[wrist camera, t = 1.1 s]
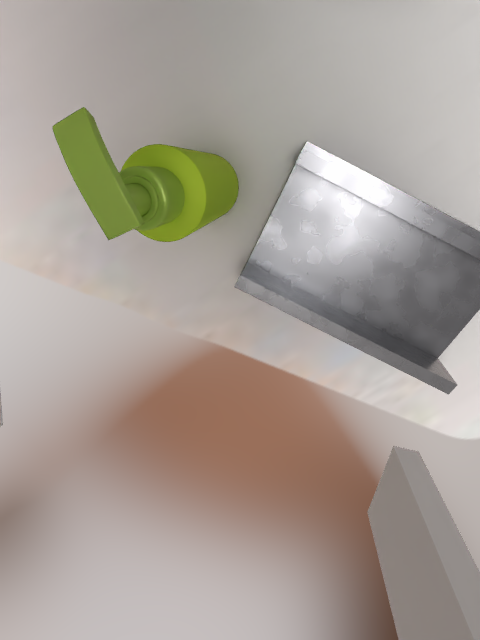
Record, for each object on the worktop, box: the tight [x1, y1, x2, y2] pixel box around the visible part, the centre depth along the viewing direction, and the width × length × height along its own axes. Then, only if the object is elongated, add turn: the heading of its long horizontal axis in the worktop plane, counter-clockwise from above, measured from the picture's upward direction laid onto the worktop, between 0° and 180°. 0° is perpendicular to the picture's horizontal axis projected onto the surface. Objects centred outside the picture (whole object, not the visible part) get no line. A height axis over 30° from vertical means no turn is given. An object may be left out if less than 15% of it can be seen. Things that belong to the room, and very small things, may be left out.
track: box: [235, 141, 480, 394], centre depth 32 cm, size 14×22×6 cm, turn 65°
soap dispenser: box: [53, 107, 239, 242], centre depth 25 cm, size 6×7×20 cm
